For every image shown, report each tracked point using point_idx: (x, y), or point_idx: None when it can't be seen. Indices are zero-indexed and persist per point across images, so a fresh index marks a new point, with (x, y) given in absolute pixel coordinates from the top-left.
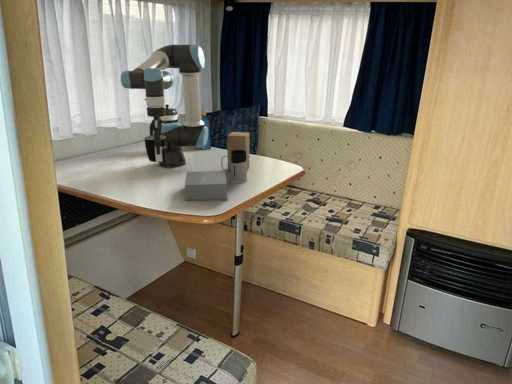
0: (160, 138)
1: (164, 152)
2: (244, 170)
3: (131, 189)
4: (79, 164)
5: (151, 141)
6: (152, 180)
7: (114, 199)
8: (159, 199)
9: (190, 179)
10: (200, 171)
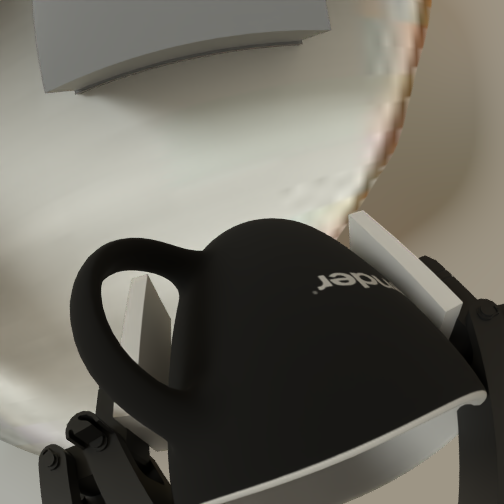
0: (494, 404)
1: (331, 243)
2: None
3: (167, 307)
4: (52, 442)
5: (447, 422)
6: (47, 277)
7: None
8: (274, 161)
9: (217, 9)
10: (35, 15)
